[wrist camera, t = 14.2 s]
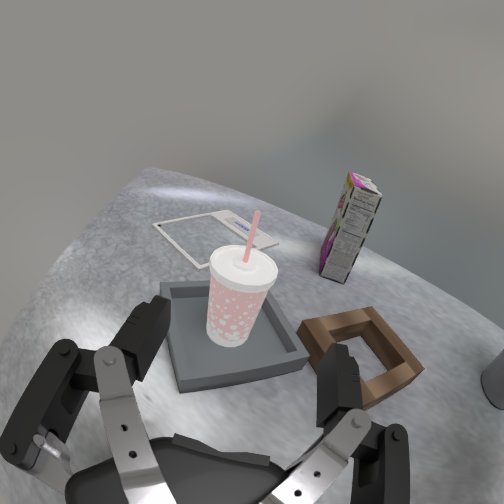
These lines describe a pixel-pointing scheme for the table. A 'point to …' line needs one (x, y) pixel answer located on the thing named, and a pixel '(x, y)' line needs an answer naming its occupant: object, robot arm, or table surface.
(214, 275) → the beverage cup
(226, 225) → the photo frame
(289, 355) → the tray
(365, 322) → the socket block
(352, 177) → the candy bar box
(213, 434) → the table surface
